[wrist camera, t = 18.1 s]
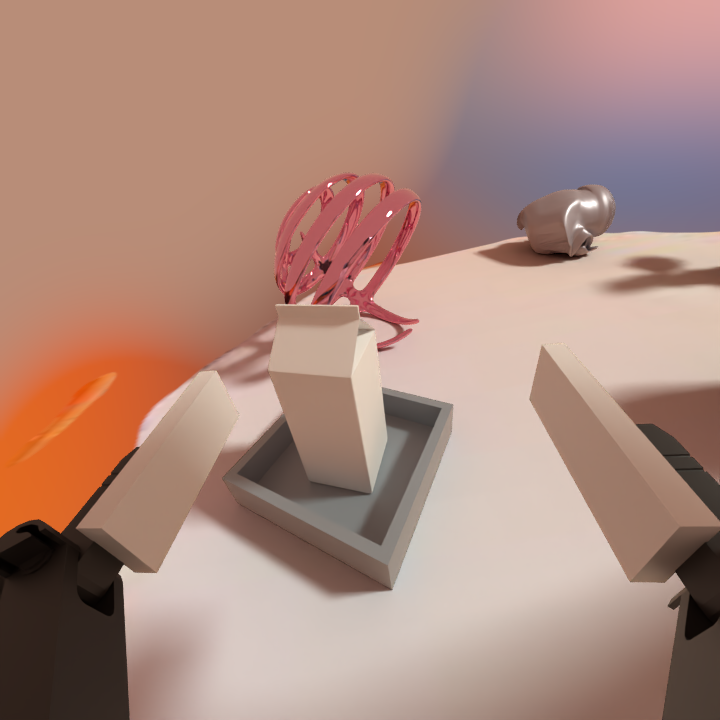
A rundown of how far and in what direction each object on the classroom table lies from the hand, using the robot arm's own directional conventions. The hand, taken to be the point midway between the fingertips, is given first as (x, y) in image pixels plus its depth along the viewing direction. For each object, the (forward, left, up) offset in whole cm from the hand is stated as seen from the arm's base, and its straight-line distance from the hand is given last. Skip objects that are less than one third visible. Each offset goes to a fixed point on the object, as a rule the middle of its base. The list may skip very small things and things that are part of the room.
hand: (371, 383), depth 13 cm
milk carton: (-9, -9, -21) cm, 24 cm away
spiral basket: (-37, -23, -22) cm, 49 cm away
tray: (-9, -9, -21) cm, 25 cm away
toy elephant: (-90, +8, -22) cm, 93 cm away
